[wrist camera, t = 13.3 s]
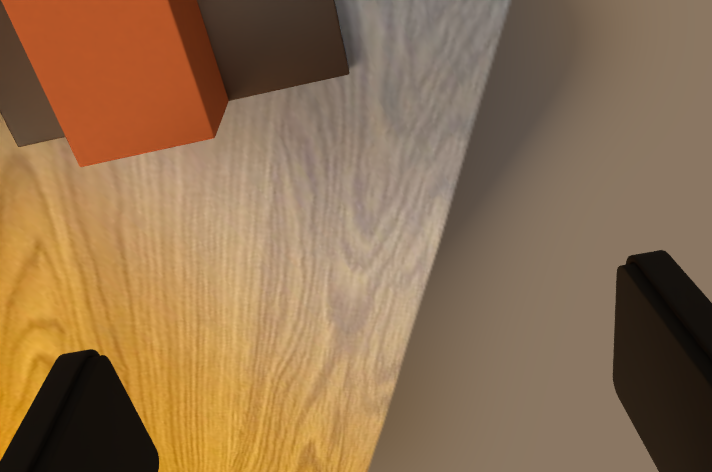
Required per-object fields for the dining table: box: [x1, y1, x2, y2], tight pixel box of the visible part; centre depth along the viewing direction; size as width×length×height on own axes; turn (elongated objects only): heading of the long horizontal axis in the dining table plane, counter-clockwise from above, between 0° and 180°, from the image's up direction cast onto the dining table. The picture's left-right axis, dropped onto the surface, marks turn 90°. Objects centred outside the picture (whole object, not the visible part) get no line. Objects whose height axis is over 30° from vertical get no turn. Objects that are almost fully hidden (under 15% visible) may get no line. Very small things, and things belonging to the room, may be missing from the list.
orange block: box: [1, 0, 229, 167], centre depth 26 cm, size 6×10×5 cm, turn 12°
